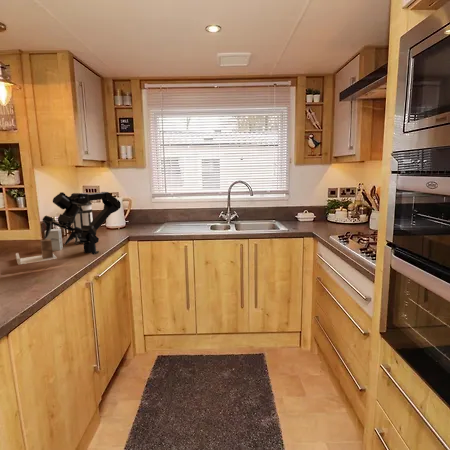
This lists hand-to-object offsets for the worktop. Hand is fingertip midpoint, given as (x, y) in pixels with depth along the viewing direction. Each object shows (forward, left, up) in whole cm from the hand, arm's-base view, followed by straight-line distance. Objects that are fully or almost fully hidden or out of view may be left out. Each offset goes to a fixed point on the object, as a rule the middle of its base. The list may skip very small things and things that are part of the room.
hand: (55, 241), depth 157 cm
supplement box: (-23, -19, -11) cm, 32 cm away
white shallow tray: (-3, -14, -11) cm, 18 cm away
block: (-7, -11, -10) cm, 16 cm away
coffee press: (-46, -15, -11) cm, 49 cm away
